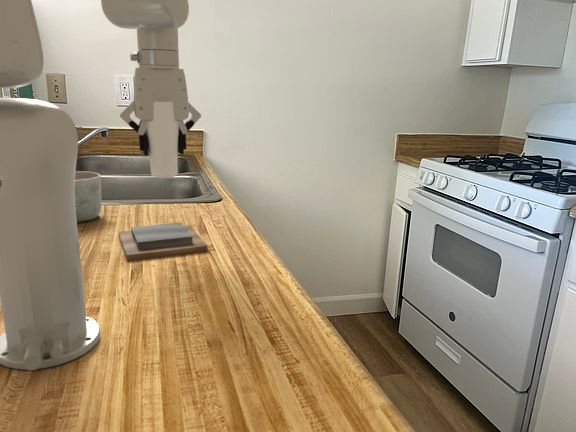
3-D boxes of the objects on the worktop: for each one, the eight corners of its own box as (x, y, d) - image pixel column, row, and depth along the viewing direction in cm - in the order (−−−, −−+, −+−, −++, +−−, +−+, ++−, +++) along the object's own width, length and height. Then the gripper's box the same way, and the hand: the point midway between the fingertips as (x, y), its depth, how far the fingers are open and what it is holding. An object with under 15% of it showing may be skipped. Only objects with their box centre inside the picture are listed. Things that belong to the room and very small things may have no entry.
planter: (45, 216, 122) (40, 174, 119) (95, 209, 129) (92, 169, 126) (57, 228, 112) (52, 182, 109) (110, 220, 120) (107, 177, 117)
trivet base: (207, 251, 100) (207, 238, 99) (127, 260, 93) (126, 247, 93) (189, 229, 114) (189, 218, 113) (118, 236, 107) (117, 225, 107)
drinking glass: (140, 176, 97) (135, 100, 93) (163, 171, 103) (160, 99, 99) (165, 180, 94) (161, 101, 90) (188, 174, 100) (185, 100, 95)
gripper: (112, 58, 85) (119, 158, 90) (207, 62, 92) (209, 155, 97) (110, 59, 92) (116, 152, 97) (199, 63, 99) (201, 150, 104)
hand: (163, 153), depth 97 cm, fingers closed on drinking glass, 6 cm apart
